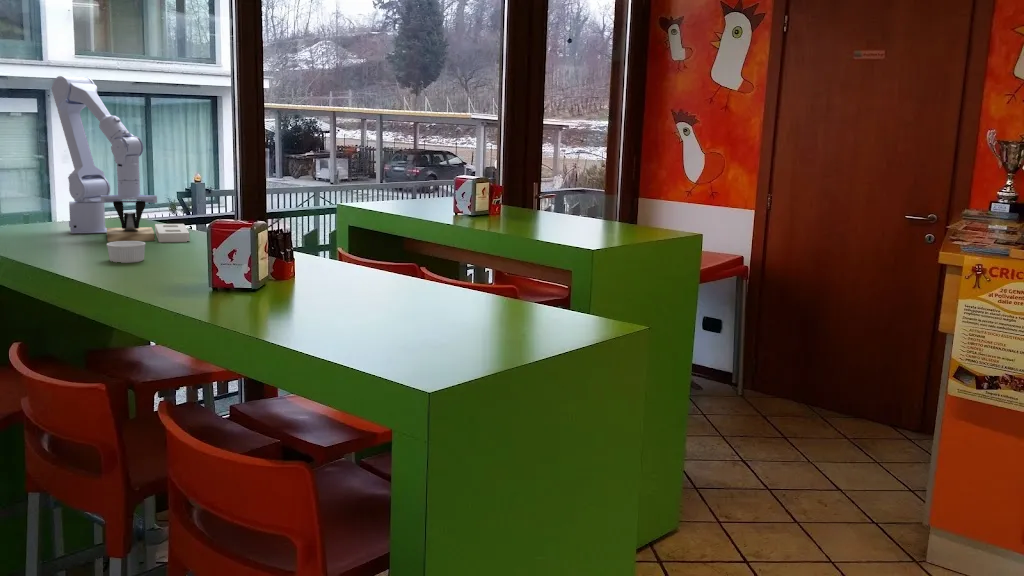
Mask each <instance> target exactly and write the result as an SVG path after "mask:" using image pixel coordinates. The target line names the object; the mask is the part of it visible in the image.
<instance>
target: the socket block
mask: <svg viewBox="0 0 1024 576" xmlns="http://www.w3.org/2000/svg"><path fill="white" fill-rule="evenodd" d="M106 228H107V233H106V235H107V242H116V241H141V242H150V241H151V242H154V241H156V240H155V230H154V229H153V227H151V226H150V227H147V226H146V227H141V226H139V229H136V232H125V229H122V227H106Z"/></svg>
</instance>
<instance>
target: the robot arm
mask: <svg viewBox="0 0 1024 576" xmlns="http://www.w3.org/2000/svg"><path fill="white" fill-rule="evenodd" d="M51 92H52V95H53V98H54V103H55V106H56V108H57V113H58V116H59V121H60V123H61V127H62V130H63V131H62V132H63V134H64V137H65V141H66V144H67V148H68V151H69V154H70V159H71V162H72V165H73V168H74V170H73V171H72V172H71V173H70V174H69V176H68V177H67V179H68V184H69V185H68V186H69V188H68V189H69V190H68V191H69V194H70V196H71V198H72V199H73V201H69V205H68V208H69V220H68V227H69V228H70V234H107V228H108V227H106V211H105V204H106V203H109V204H110V203H112V205H113V207H114V208H115V211H116V213H117V215H118V218H119V221H120V223H121V228H122V229H125V224H124V203H129V204H130V203H131V204H132V203H134V204H135V213H136V229H139V227H140V222H141V218H142V215H143V212H144V211H145V209H146V203H147V204H149V203H152V204H157V203H158V195H155V194H154V195H153V194H152V195H151V194H150V195H149V194H148V195H147V194H141V188H140V186H141V184H140V158H139V157H141V155H142V154H143V152H144V143H143V140H142V139H141V138H140V137H139V136H136V135H133V133H131V132H129V130H128V129H127V128H126V126H125V125H124V123H123V122H122V119H120V117H118V116H117V115H112V114H111V112H110V111H109V110H108V108H107V107H106V105H105V104H104V102H103V100H102V99H101V98H100V96H99V94H98V86H97V85H96V84H95V82H94V81H93V80H92V78H90V77H88V76H87V77H80V76H79V77H78V76H77V77H76V76H63V75H59V76H57V77H56V78H55V79H54V81H53V83H52V86H51ZM85 108H87V109H88V110H89V111H90V113H92V115H93V116H94V117H95V118H96V119H97V121H99V124H98V125H99V126H98V127H99V130H100V131H101V132H102V133H103V135H104V136H105V137H106V139H107V140H108V142H110V144H111V146H110V150H111V153H112V155H113V157H114V162H115V164H116V175H117V177H116V178H117V179H116V180H117V194H110V193H111V185H110V183H109V180H108V179H107V178H106V176H105V172H104V171H103V170H101V169H100V168H99V167H97V166H96V165H95V161H94V159H93V155H92V152H91V149H90V145H89V141H88V137H87V134H86V132H85V127H84V124H83V121H82V117H81V112H82V110H83V109H85Z"/></svg>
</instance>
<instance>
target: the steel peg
mask: <svg viewBox="0 0 1024 576" xmlns="http://www.w3.org/2000/svg"><path fill="white" fill-rule="evenodd" d="M123 214H124V224H125V232H136V212H132V211H131V212H123Z"/></svg>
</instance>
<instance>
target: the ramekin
mask: <svg viewBox="0 0 1024 576" xmlns="http://www.w3.org/2000/svg"><path fill="white" fill-rule="evenodd" d="M106 248H107V253H108V258H109V261H110V262H112V261H113V263H117V262H121V263H120V264H129V263H130V264H131V263H133V264H134V263H140V262H142V261H144V259H145V250H146V241H109V242H107V243H106Z"/></svg>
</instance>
